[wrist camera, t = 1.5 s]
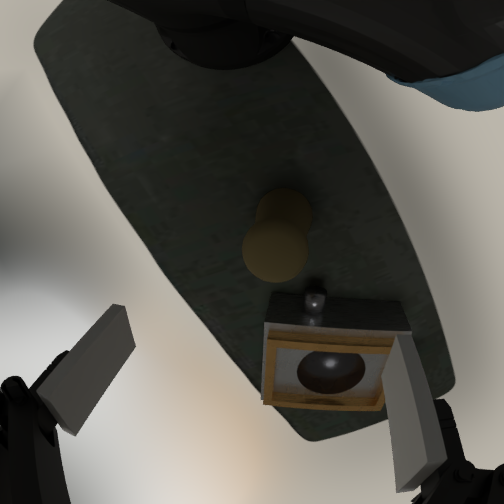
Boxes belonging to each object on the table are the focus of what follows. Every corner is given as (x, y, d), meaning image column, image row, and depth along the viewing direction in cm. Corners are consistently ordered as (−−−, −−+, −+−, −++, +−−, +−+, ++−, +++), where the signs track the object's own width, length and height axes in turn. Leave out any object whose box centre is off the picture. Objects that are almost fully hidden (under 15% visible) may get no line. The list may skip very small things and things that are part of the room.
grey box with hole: (272, 274, 35) (263, 311, 28) (404, 284, 33) (422, 321, 26) (267, 368, 41) (258, 408, 35) (375, 375, 39) (381, 415, 32)
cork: (244, 207, 33) (216, 247, 23) (291, 176, 30) (283, 203, 20) (277, 251, 34) (263, 306, 24) (323, 223, 32) (330, 271, 22)
